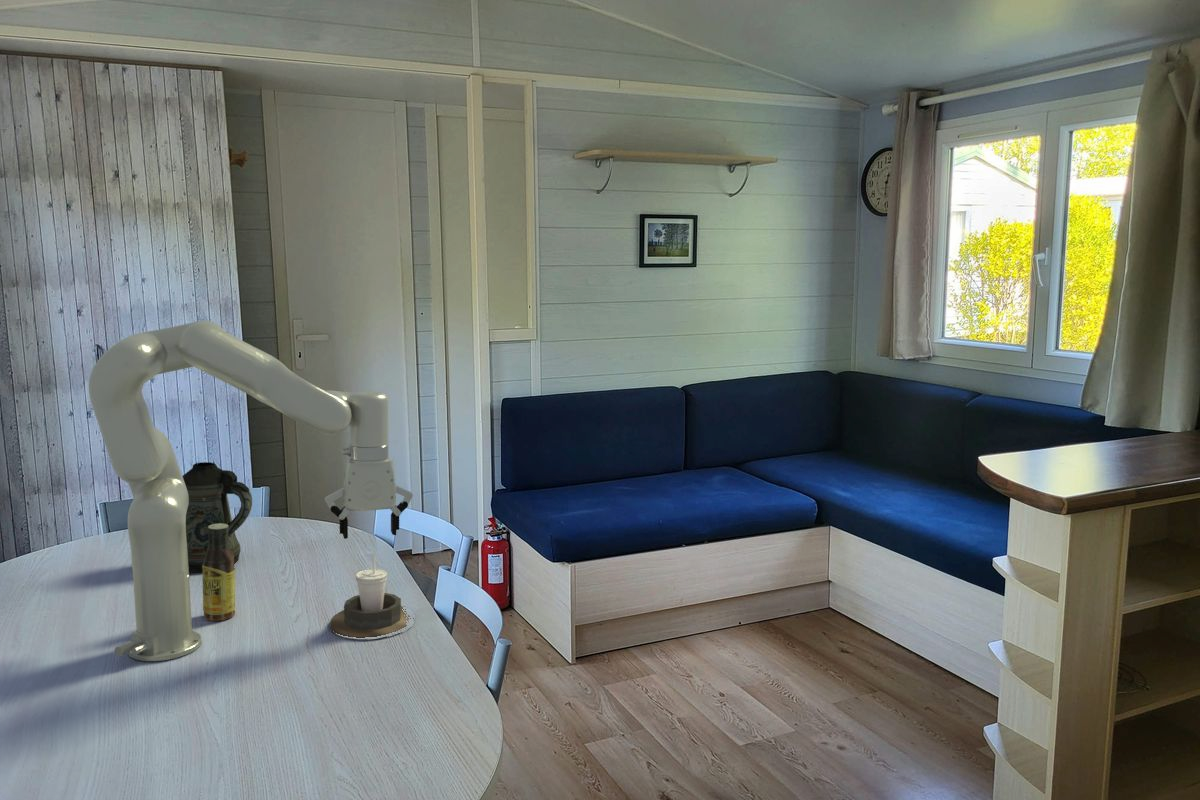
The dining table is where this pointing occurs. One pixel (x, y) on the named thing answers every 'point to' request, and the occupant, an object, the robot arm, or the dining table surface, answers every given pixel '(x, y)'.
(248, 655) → the dining table surface
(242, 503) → the beer stein
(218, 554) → the sauce bottle
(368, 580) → the smoothie
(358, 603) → the holder
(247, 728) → the dining table surface
